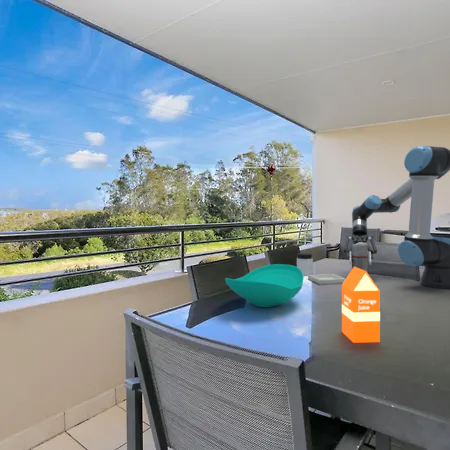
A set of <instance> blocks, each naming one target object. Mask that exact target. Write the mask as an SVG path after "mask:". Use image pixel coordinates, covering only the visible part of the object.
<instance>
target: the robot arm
mask: <svg viewBox="0 0 450 450" xmlns="http://www.w3.org/2000/svg"><path fill="white" fill-rule="evenodd" d="M403 165H404V168H405V169H406V171H407V172H408V173H409V174H408V177H409V179H408V180H406V182H404V183H403V184H402V185H400V186H399V187H397V189H395V190H394V191H393V192H392V193H391V194H390V195H388V196H387V197H385V198H381V197H379V196H378V195H375V194H370V195H369V196H368V197H367V198H366V199H364V201H363V202H362V204H360V205H357V206H355V207H353V208H352V213H351V217H352V223H351V227H352V233H351V234H352V235H351V236H349V235H346V238H345V244H344V247H343V253H344V254H347V255H346V256H347V259H349V265H352V256H351V254H352V245H353V244H356V243H358V242H363V243H367V244H368V253H369V254H368V266H372V260H373V259H374V255H376V254H377V252H378V249H377V246H376V243H375V241H374V238H375V237H374V236H369V235H368V221H367V220H368V219H369V218H370V217H371V215H373V214H377V213H380V214H381V213H382V214H383V213H391V214H392V213H397V212H398V211H399V210H400V209H401V205H402V204H404V203H405V202H407V201H408V200H409V199H410V206H409V207H410V209H409V223H408V232H406V234H404V240H403V241H402V242H400V243H399V244H398V247H397V254H398V256H399V257H398V258H399V259H400V260H401V261H402V262H403V264H406V265H407V266H411V267H419V266H424V270H423V272H422V275H421V277H420V281H419V282H420V285H421V286H425V287H429V288H435V289H450V237H440V236H432V235H431V225H432V211H433V201H434V188H435V180H440V179H441V178H442V177H444V176H445V175H446V174H447V173H449V171H450V149H448V147H447V148H446V147H443V146H431V145H419V146H415V147H413V148H411V149H410V151H408V152H407V153H406V155H405V157H404V161H403ZM368 240H369V242H370V244H371V245H370V244H369V242H368ZM351 241H352V242H351ZM350 242H351V244H350Z"/></svg>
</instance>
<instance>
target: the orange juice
mask: <svg viewBox="0 0 450 450" xmlns="http://www.w3.org/2000/svg"><path fill="white" fill-rule="evenodd" d="M380 298H381V291H380V289H379V288H378V287H377V284H375V282H374V281H373V279H372V278H371V277H370V275H369V273H368V274H367V271H364V270H362V269H359V268H357V267H354V268H353V269H352V268H351V270H350V272H349V273H348V275H347V277H346V278H345V281H344V282H343V284H341V332H342V334H343V335H345V336H346V338H348V339H349V340H350V341H351V342H352V343H354V344H355V343H380V342H381V337H380V336H381V331H380V330H381V299H380Z"/></svg>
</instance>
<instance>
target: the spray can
mask: <svg viewBox="0 0 450 450" xmlns="http://www.w3.org/2000/svg"><path fill="white" fill-rule="evenodd" d="M367 243H368V242H367ZM367 243H363V242H358V243H356V244H353V245H352V251H351V270H352V269H353V268H354V267H357V268H359V269H362V270H364V271H367V274H368V275H369V254H368V253H369V251H368V244H369V243H368V244H367Z"/></svg>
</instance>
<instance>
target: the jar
mask: <svg viewBox="0 0 450 450" xmlns="http://www.w3.org/2000/svg"><path fill="white" fill-rule="evenodd" d="M296 256H297V257H296V267H298V268H299V269H300V270H301V271H302V273H303V276H304V277H308V275H314V259H313V253H311V252H298V253H297V255H296Z"/></svg>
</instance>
